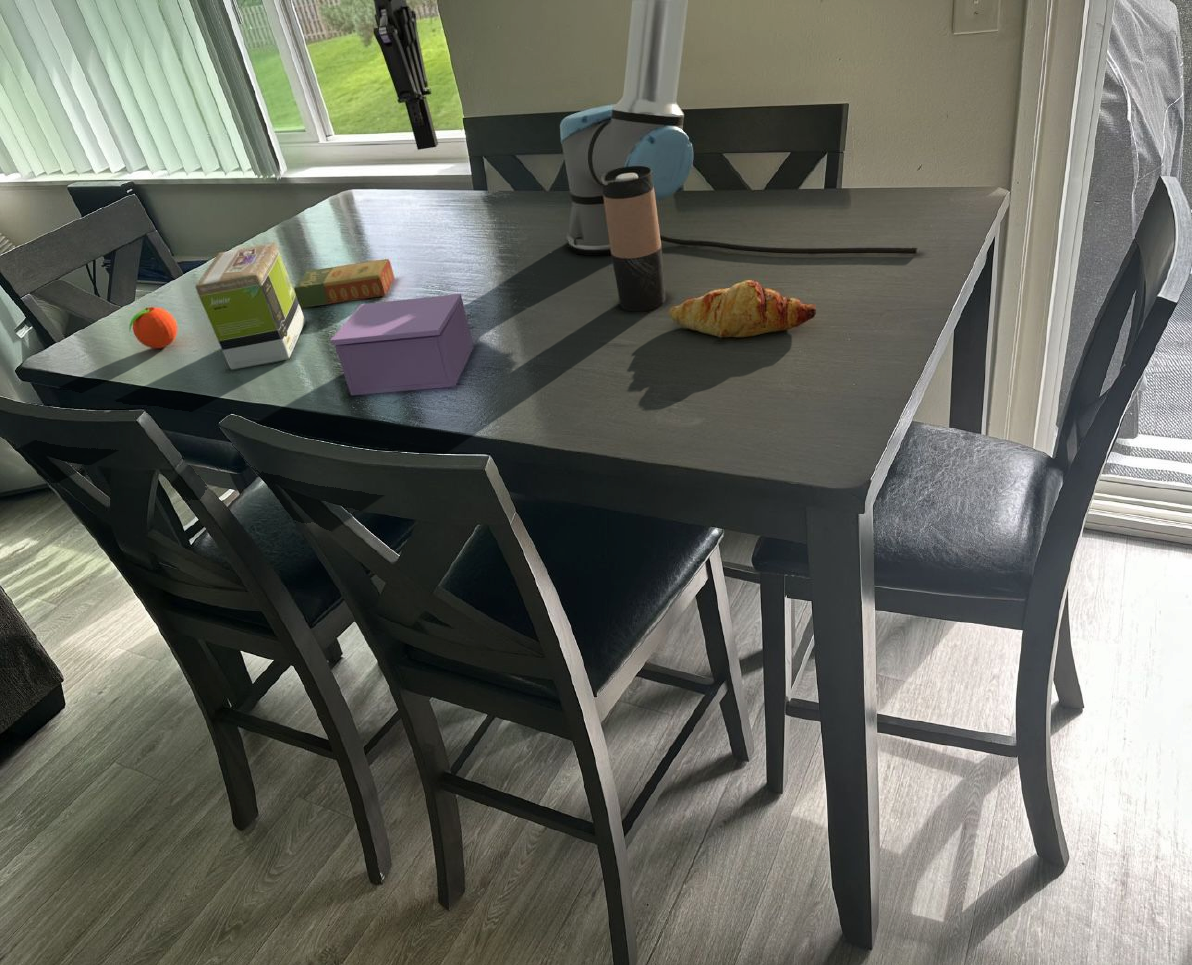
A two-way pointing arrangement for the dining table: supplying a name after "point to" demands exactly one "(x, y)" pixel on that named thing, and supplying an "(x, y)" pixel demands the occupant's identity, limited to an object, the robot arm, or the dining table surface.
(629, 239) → the travel mug
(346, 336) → the lid
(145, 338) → the clementine
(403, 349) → the file box
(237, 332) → the tea box
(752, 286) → the croissant
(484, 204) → the dining table surface
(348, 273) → the carton
